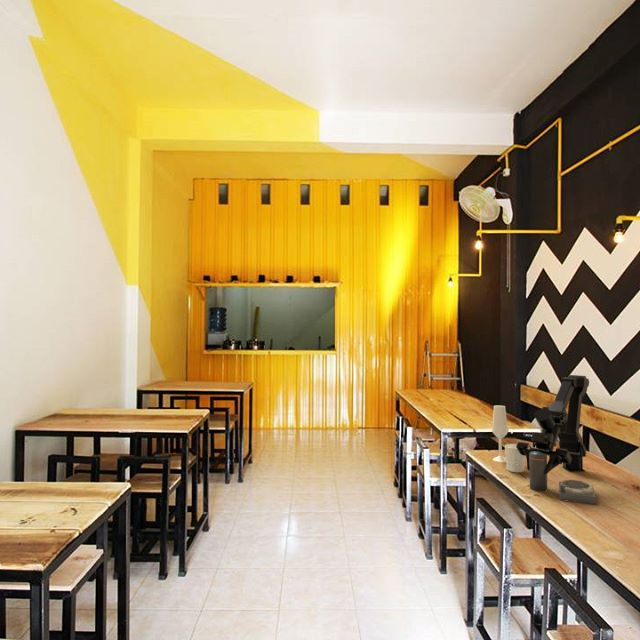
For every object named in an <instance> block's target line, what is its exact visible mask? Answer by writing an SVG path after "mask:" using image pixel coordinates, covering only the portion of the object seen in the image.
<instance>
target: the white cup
mask: <svg viewBox="0 0 640 640" xmlns="http://www.w3.org/2000/svg"><path fill="white" fill-rule="evenodd" d="M516 445H517V443H507V444H505V445H504V454H505V456H504V458H506V462H505V463H506V470H507V471H508V472H511V473H522V472H524V471H525V464H526V463H525V462H526V461H525V460H526V456H524V455H521V454H520V453H519V451H518V449H517V448H516Z"/></svg>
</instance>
